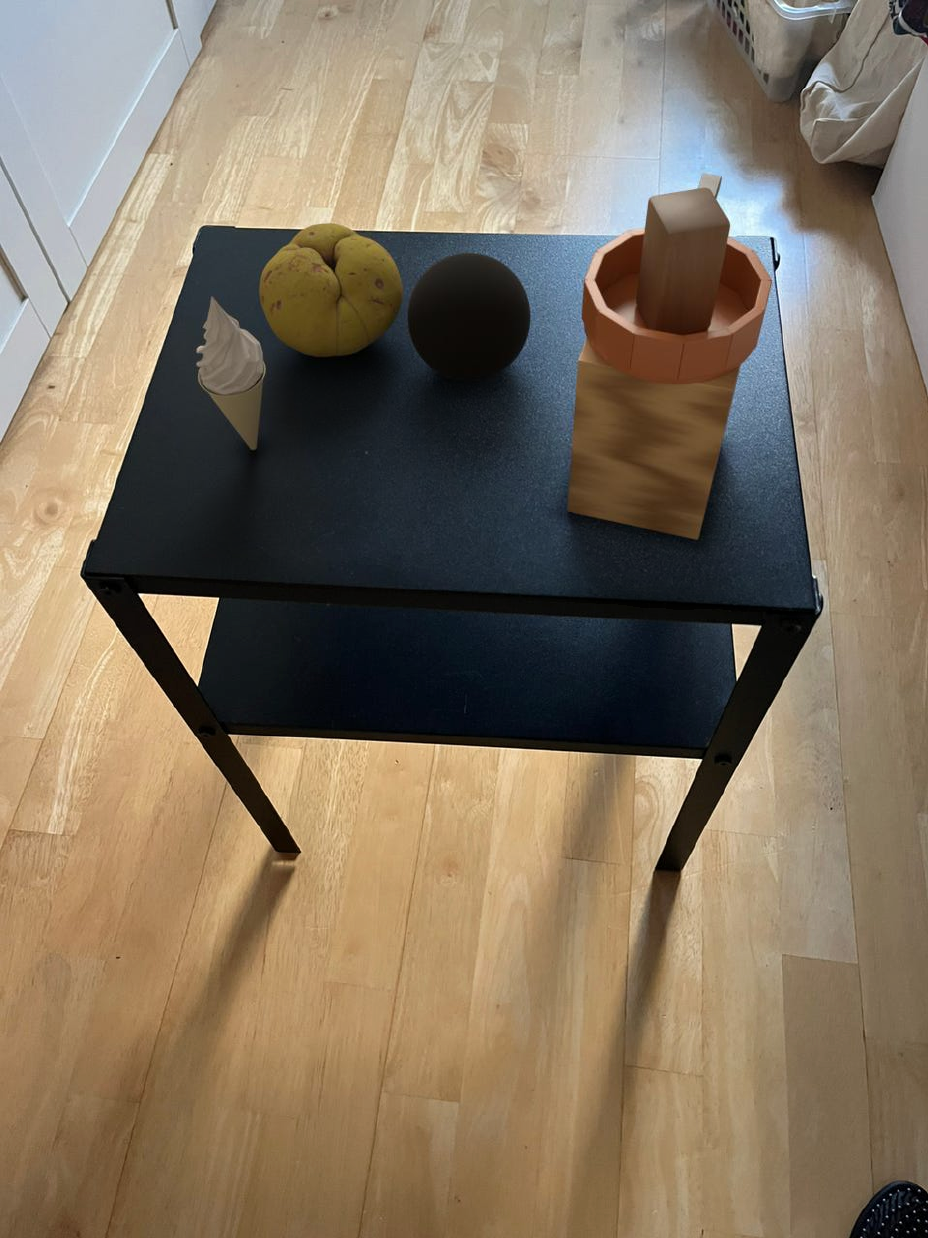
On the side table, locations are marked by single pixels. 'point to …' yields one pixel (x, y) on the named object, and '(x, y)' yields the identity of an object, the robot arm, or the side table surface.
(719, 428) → the stand
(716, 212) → the wooden block
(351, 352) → the fruit
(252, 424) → the ice cream cone
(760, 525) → the side table surface
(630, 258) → the pan
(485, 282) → the decorative ball
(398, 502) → the side table surface
